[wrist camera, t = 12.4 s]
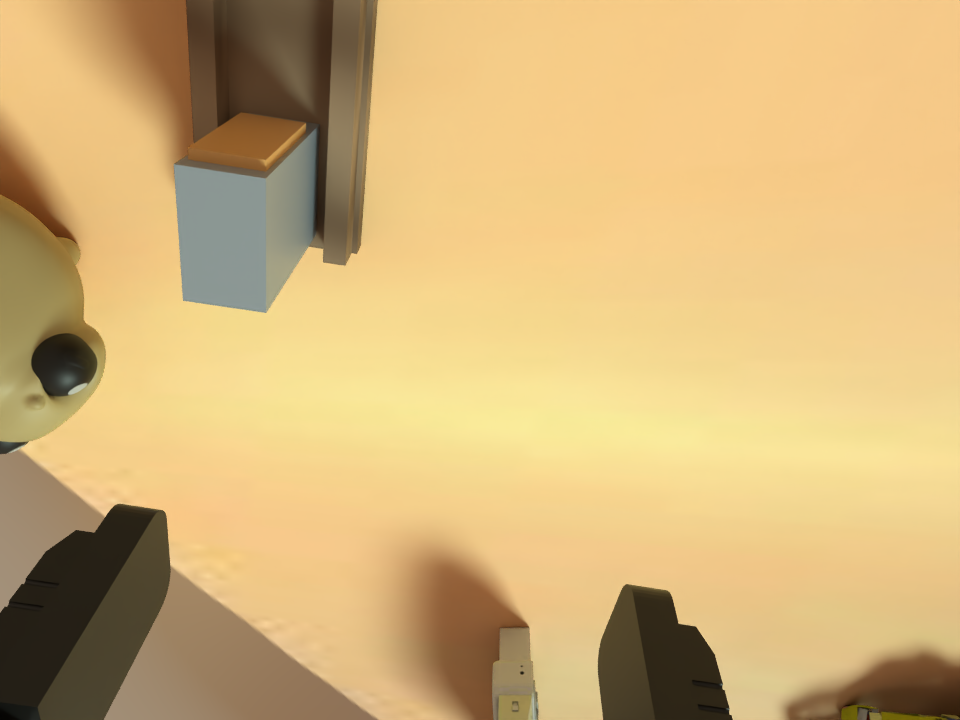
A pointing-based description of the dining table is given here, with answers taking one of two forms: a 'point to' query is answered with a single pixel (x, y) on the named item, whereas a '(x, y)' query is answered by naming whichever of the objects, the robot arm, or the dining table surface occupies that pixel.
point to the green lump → (885, 714)
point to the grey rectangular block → (246, 209)
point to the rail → (293, 89)
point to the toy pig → (41, 330)
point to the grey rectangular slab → (514, 677)
